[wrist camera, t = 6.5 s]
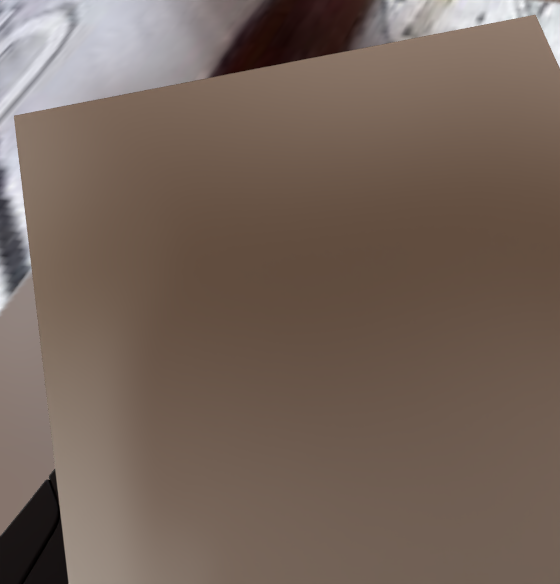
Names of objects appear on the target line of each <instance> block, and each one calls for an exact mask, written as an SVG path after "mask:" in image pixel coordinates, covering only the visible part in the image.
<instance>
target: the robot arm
mask: <svg viewBox="0 0 560 584" xmlns="http://www.w3.org/2000/svg"><path fill="white" fill-rule="evenodd" d="M49 479H50V480H45V482H44V483H43V484H42V485H41V486H40V488H39V489H38V490H37V492H36V493H35V494H34V495H33V497H32V498H31V499H30V501H29V502H28V503H27V504H26V506H25V507H24V508H23V509H22V510H21V511H20V513H19V514H18V515H17V516H16V518H15V519H14V520H13V521H12V522H11V524H10V525H9V526H8V527H7V529H6V530H5V531H4V532H3V533H2V535H1V536H0V584H69V582H68V574H67V565H66V557H65V548H64V540H63V531H62V522H61V514H60V505H59V497H58V488H57V480H56V471H55V469H54V470H53V471H52V473H51V474H50V476H49Z"/></svg>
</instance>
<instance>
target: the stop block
mask: <svg viewBox="0 0 560 584" xmlns="http://www.w3.org/2000/svg"><path fill="white" fill-rule="evenodd" d="M14 121H15V130H16V138H17V147H18V155H19V164H20V172H21V181H22V189H23V198H24V206H25V215H26V224H27V232H28V241H29V249H30V258H31V266H32V275H33V282H34V292H35V300H36V309H37V317H38V326H39V334H40V343H41V351H42V360H43V369H44V377H45V386H46V394H47V402H48V411H49V420H50V428H51V437H52V446H53V454H54V462H55V471H56V480H57V488H58V497H59V505H60V514H61V522H62V531H63V540H64V548H65V557H66V565H67V574H68V582H69V584H560V68H559V66H558V64H557V61H556V59H555V57H554V55H553V53H552V50H551V48H550V46H549V44H548V42H547V39H546V37H545V35H544V33H543V30H542V28H541V26H540V24H539V22H538V19H537V17H536V15H532V16H527V17H522V18H517V19H511V20H506V21H501V22H496V23H491V24H486V25H480V26H475V27H470V28H465V29H460V30H455V31H449V32H444V33H439V34H434V35H429V36H424V37H418V38H413V39H408V40H403V41H398V42H393V43H387V44H382V45H377V46H372V47H367V48H362V49H356V50H351V51H346V52H341V53H336V54H331V55H325V56H320V57H315V58H310V59H305V60H300V61H295V62H289V63H284V64H279V65H274V66H269V67H264V68H258V69H253V70H248V71H243V72H238V73H233V74H227V75H222V76H217V77H212V78H207V79H202V80H196V81H191V82H186V83H181V84H176V85H171V86H165V87H160V88H155V89H150V90H145V91H140V92H134V93H129V94H124V95H119V96H114V97H109V98H103V99H98V100H93V101H88V102H83V103H78V104H73V105H67V106H62V107H57V108H52V109H47V110H42V111H36V112H31V113H26V114H21V115H16V116H14Z"/></svg>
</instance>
